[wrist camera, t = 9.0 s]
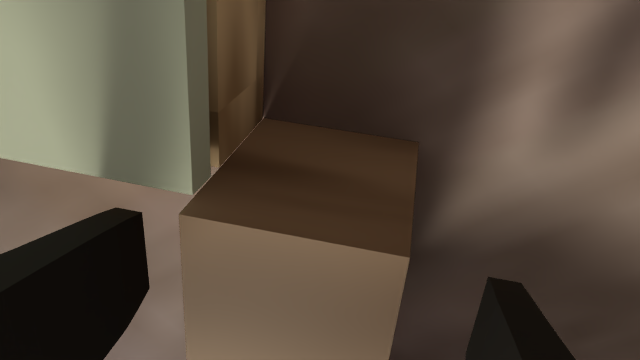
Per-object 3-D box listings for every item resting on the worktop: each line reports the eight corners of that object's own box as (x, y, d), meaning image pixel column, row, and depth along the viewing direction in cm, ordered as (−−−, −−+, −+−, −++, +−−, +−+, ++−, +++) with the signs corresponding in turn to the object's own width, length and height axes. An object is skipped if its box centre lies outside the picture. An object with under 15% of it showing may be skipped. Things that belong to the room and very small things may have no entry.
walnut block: (393, 270, 14) (375, 420, 10) (259, 244, 15) (187, 375, 11) (418, 141, 13) (409, 258, 8) (264, 117, 13) (178, 214, 9)
